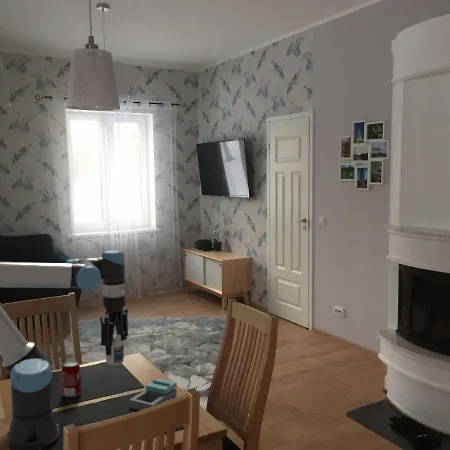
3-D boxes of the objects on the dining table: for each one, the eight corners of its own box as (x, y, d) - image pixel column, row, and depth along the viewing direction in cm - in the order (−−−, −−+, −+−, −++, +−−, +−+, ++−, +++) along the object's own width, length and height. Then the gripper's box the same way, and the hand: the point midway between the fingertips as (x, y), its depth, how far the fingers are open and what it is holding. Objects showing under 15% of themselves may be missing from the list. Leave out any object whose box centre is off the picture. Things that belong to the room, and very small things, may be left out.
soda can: (75, 399, 187) (74, 367, 186) (58, 397, 188) (57, 365, 187) (84, 391, 193) (83, 360, 192) (67, 390, 195) (67, 359, 194)
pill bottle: (116, 366, 175) (115, 339, 175) (104, 364, 178) (103, 336, 177) (126, 361, 180) (126, 334, 179) (114, 359, 183) (113, 332, 182)
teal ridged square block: (165, 394, 183) (165, 387, 183) (145, 390, 187) (145, 383, 187) (176, 387, 190) (176, 380, 190) (157, 382, 194) (157, 376, 193)
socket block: (153, 413, 175) (152, 405, 175) (129, 407, 180) (129, 399, 180) (176, 397, 189) (176, 389, 188) (154, 392, 193) (154, 384, 193)
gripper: (107, 302, 167) (108, 371, 169) (137, 290, 184) (138, 353, 186) (88, 300, 170) (90, 368, 172) (120, 289, 187) (121, 351, 189)
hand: (115, 360), depth 179 cm, fingers closed on pill bottle, 5 cm apart
